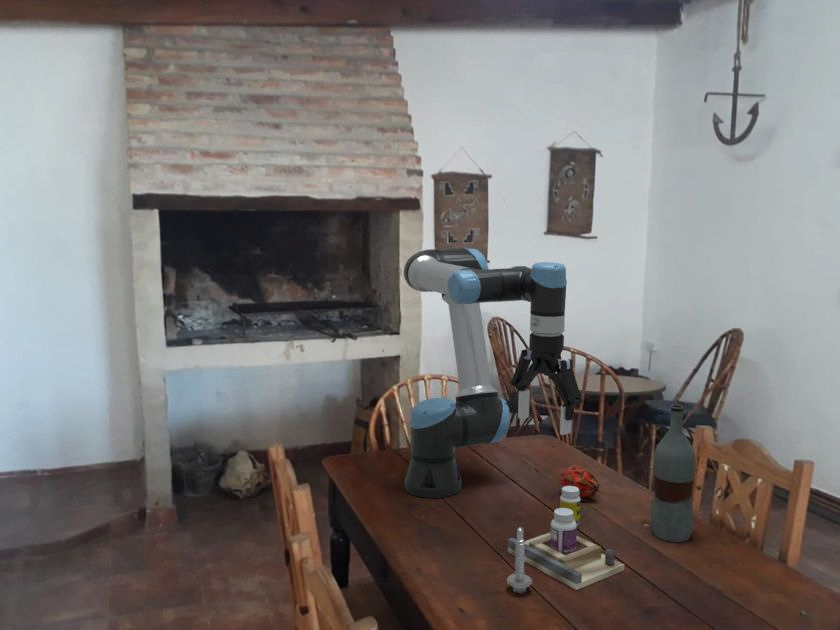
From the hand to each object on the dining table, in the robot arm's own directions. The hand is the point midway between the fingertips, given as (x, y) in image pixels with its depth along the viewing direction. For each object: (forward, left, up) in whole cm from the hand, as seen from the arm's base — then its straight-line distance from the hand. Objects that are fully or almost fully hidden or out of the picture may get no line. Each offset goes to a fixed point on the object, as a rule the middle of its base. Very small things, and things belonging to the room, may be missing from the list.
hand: (543, 425), depth 171 cm
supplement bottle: (+1, +8, -25) cm, 27 cm away
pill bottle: (+13, -7, -24) cm, 28 cm away
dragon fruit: (-9, +22, -25) cm, 35 cm away
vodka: (+19, +22, -25) cm, 39 cm away
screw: (+17, -23, -25) cm, 38 cm away
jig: (+14, -7, -25) cm, 29 cm away
